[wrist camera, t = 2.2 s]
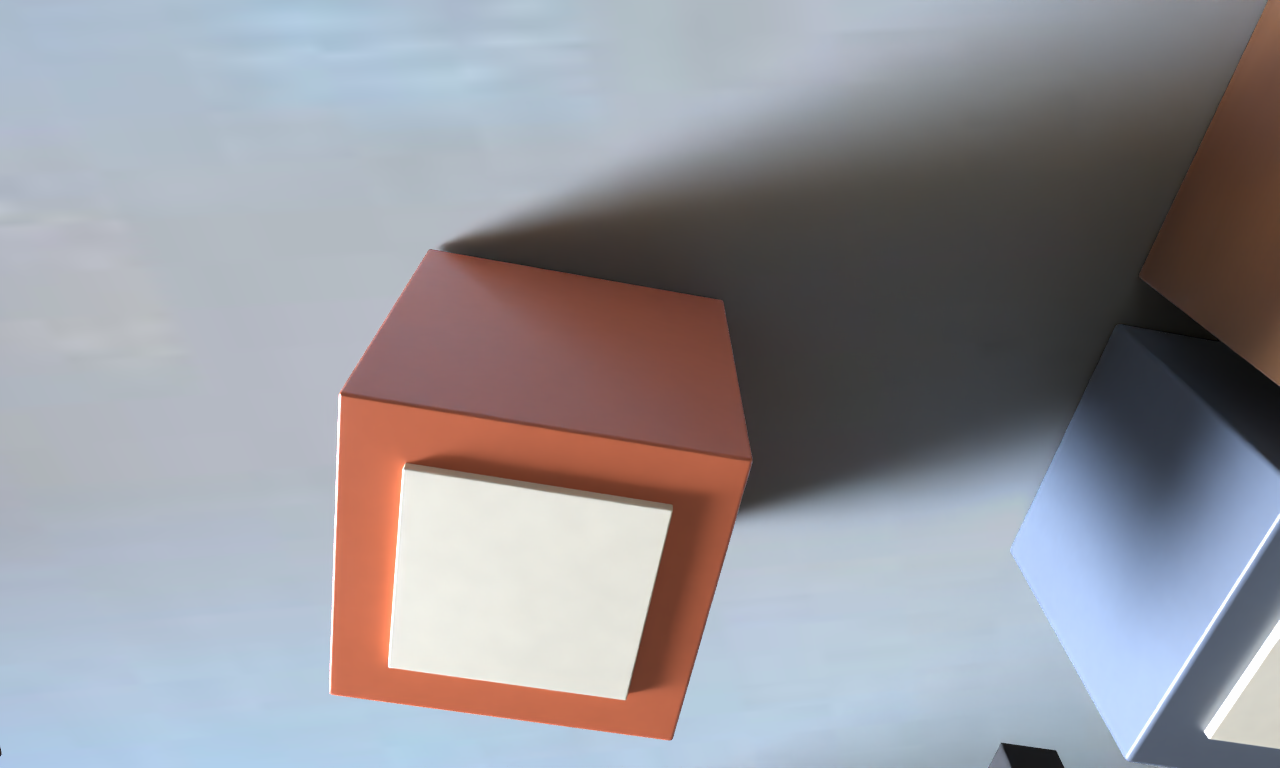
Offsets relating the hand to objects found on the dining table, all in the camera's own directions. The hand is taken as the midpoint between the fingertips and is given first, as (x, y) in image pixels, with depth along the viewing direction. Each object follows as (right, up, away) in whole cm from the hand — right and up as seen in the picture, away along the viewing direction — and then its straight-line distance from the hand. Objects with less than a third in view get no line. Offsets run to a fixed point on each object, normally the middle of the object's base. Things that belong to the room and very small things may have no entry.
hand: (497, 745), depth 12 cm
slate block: (+14, +3, +8) cm, 17 cm away
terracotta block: (0, +4, +8) cm, 9 cm away
